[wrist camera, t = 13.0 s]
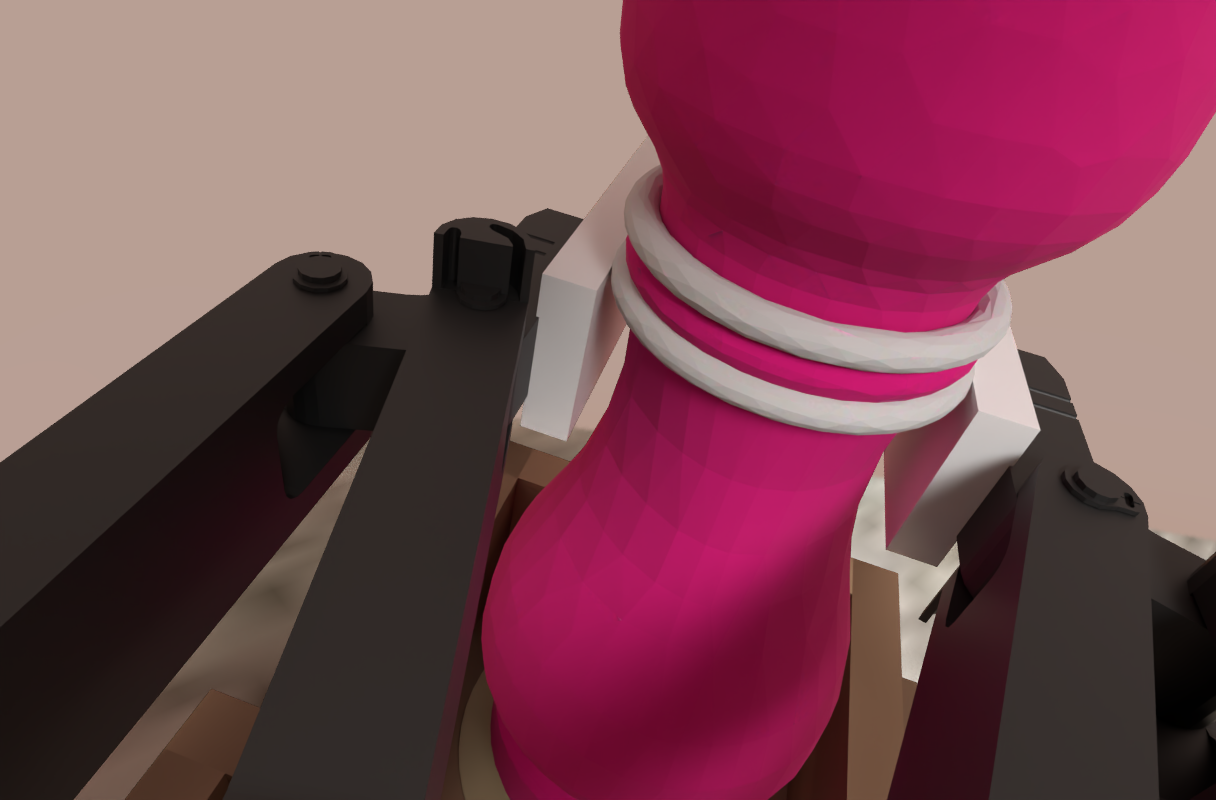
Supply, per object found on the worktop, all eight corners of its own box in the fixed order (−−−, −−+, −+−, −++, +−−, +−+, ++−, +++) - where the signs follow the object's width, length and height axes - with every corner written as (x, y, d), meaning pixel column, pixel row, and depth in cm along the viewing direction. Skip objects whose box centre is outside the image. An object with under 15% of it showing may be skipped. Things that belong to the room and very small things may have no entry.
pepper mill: (652, 566, 22) (1000, -407, 9) (824, 790, 18) (1884, -427, 5) (419, 669, 18) (472, -722, 6) (567, 984, 14) (2144, -1757, 1)
